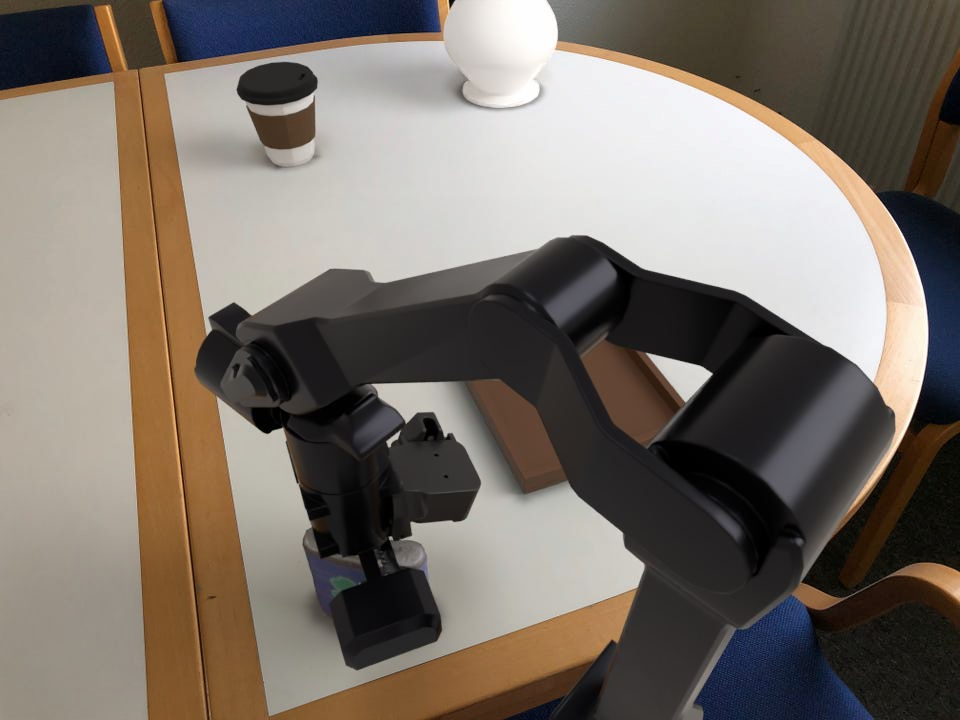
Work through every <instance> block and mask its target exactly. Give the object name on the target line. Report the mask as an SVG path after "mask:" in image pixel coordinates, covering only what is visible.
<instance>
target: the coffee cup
mask: <svg viewBox="0 0 960 720" xmlns="http://www.w3.org/2000/svg"><path fill="white" fill-rule="evenodd" d="M318 84H319V81H318V77H317V76H316V75H315V74H314V71H313V70H311V68H310V67H309V66H307V65H305V64H303V63H298V62H294V61H293V62H291V61H276V62H269V63H264V64H259V65H257V66H254V67H251V68H249V69H246V71H245V72H243V73H242V74H241V75H240V76H239V78H238V82H237V87H236V94H237V95H238V97H239V98H240V99H241V100H242V101H244V102H245V104H246V105H245V108H246V110H247V112H248V115H249V117H250V119H251V122H252V124H253V128H254V129H255V131H256V134H257V137H258V139H259V141H260V143H261V144H262V146H263V148H264V150H265V152H266V155H267V157H268V158H269V160H270V161H271V162H272V163H273V164H274V165H276V166H278V167H282V168H294V167H299V166H302V165H305V164H306V163H309V162H310V161H311V160H312V158H313V157H314V155H315V149H316V148H315V147H316V146H315V138H316V130H317V129H316V95H315V91H316V90H318Z"/></svg>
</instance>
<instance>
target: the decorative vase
mask: <svg viewBox="0 0 960 720" xmlns="http://www.w3.org/2000/svg"><path fill="white" fill-rule="evenodd" d="M558 28H559V27H558V22H557V18H556V15H555V13H554V10H553V8H552V7H551V5H550V4H549V2H548V0H454V1H453V3H452V5H451V7H450V9H449V11H448V12H447V15H446V17H445V20H444V25H443V33H442V34H443V37H442V38H443V45H444V49H445V52H446V54H447V55H448V57H449V58H450V60H451V61H452V62H453V64H454V65H455V67H456V68H457V69H458V70H459V71H460V72H461V73H462V74H463V76H465V77H466V79H467V80H466V81H465V82H464V84H463V85H462V94H463V97H464V98H465V100H466V101H468V102H470V103H472V104H474V105H477V106H480V107H485V108H491V109H492V108H493V109H506V108H507V109H508V108H515V107H520V106H523V105H526V104H528V103H530V102H532V101H534V100H535V99H536V98H537V97H538V96H539V94H540V84H539V82H538V81H537V80H536V79H535V77H536V76H537V75H538V74H539V72H541V70H542V69H543V68H544V67H545V65H546V64H547V63H548V62H549V60H550V59H551V57H552V56H553V54H554V52H555V50H556V47H557V44H558V40H559V39H558V38H559V29H558Z"/></svg>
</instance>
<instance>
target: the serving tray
mask: <svg viewBox="0 0 960 720" xmlns="http://www.w3.org/2000/svg"><path fill="white" fill-rule="evenodd" d="M581 360H582V362H583V364H584V366H585V368H586V370H587V372H588V374H589V376H590V378H591V380H592V382H593V384H594V386H595V388H596V390H597V392H598V394H599V396H600V398H601V400H602V402H603V404H604V406H605V408H606V410H607V412H608V414H609V416H610V418H611V420H612V422H613V423H614V424H615V425H616V426H617V427H618V428H620V429H621V430H622V431H624V432H625V433H626V434H628V435H629V436H630V437H632V438H633V439H634V440H636V441H637V442H638V443H640V444H641V445H642V446H645V445H646V444H647V443H648V442H649V441H650V440H651V439H652V438H653V437H654V436H655V434H656V433H657V432H658V431H659V430H660V429H661V428H662V427H663V426H664V425H665V424H666V423H667V422H668V421H669V420H670V419H671V418H672V417H673V415H674V414H675V413H676V412H677V411H678V410H679V409H680V408H681V407H682V406H683V405H684V404H685V403H686V401H685V400H684V399H683V398H682V396H681V395H680V394H679V392H678V391H677V390H676V388H674V387H673V385H672V384H671V383H670V381H669V380H668V378H666V376H665V375H664V374H663V373H662V371H661V370H660V369H659V368H658V366H657V365H656V364H655V363H654V361H653V360H652V359H651V358H650V356H649V354H648V353H645V352H640V351H636V350H632V349H628V348H624V347H620V346H616V345H614V344H612V343H610V342H608V341H606V340H605V339H604V340H603V341H601V342H600V343H599V344H598V345H597V346H596V347H595V348H593V349H592V350H591V351H590V352H589V353H588V354H587V355H585V356H584V357H583V358H582V359H581ZM464 383H465V385H466V386H467V389H468V390H469V392H470V394H471V396H472V398H473V400H474V401H475V404H476V405H477V407H478V410H479V411H480V413H481V414H482V417H483V419H484V421H485V422H486V425H487V427H488V428H489V431H490V432H491V433H492V436H493V437H494V439H495V441H496V443H497V445H498V447H499V449H500V451H501V453H502V455H503V456H504V459H505V460H506V462H507V464H508V466H509V467H510V470H511V472H512V474H513V476H514V478H515V479H516V481H517V484H518V485H519V487H520V488H521V491H522V493H523V494H524V495H526V494H530V493H532V492H536V491H539V490H541V489H545V488H548V487H551V486H553V485H558V484H560V483H563V482H565V481H566V482H567V481H568V480H567V477H566V475H565V473H564V470H563V468H562V466H561V464H560V461H559V459H558V457H557V455H556V452H555V450H554V448H553V445H552V443H551V441H550V439H549V436H548V434H547V432H546V430H545V427H544V425H543V423H542V420H541V418H540V416H539V414H538V411H537V409H536V408H535V407H534V406H533V405H532V404H531V403H529V402H528V401H527V400H525V399H524V398H523V397H522V396H520V395H519V394H518V393H516V392H515V391H514V390H513V389H511V388H510V387H509V386H507V385H506V384H505V383H504V382H502V381H501V380H494V381H464Z"/></svg>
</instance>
